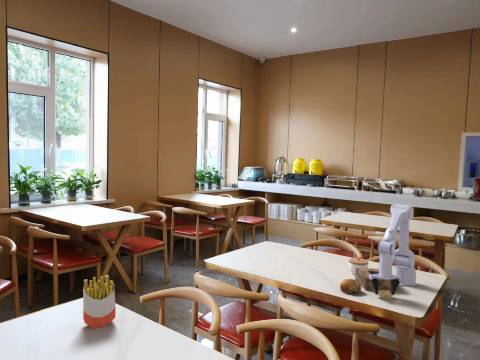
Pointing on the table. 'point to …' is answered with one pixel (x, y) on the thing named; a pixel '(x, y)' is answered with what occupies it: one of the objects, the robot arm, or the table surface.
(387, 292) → the brass cube
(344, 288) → the bread roll
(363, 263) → the lidded jar
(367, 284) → the coin box
